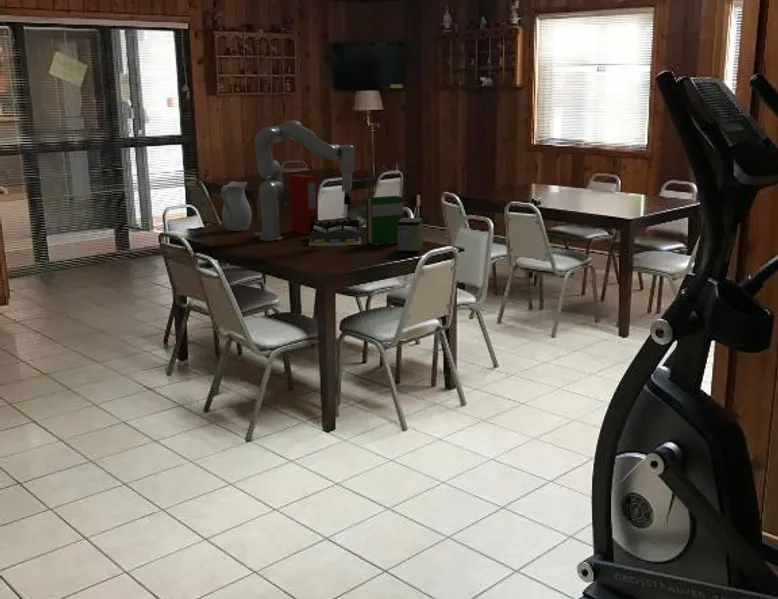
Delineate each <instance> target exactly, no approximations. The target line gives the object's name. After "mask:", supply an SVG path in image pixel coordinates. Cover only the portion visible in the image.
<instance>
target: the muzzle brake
mask: <svg viewBox="0 0 778 599" xmlns="http://www.w3.org/2000/svg"><path fill="white" fill-rule="evenodd" d="M314 225H315V226H318V227H321V228H324V229H326V231H328V229H329V228H333V227H336V226H340V225H341V227H342V229H340V230H337V231H349V230H344V226H349V227H357V231H358V230H359V232H360V231H361V229H362V221H361V219H360V218H359V217H358V216H346V217H341V218H340V217H339V218H338V217H337V218H330V219H322V220H319V219H318V221H312V222H311V223H310V233H311V232H312V231H318V230H315V229H313V227H314Z"/></svg>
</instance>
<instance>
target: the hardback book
mask: <svg viewBox="0 0 778 599" xmlns="http://www.w3.org/2000/svg"><path fill="white" fill-rule="evenodd" d="M403 198H404V197H403V196H400V195H399V196H398V195H391V196H390V195H387V196H375V197H374V196H372V197H365V221H366V222H365V223H366V224H365V226H366V227H365V228H366V230H365V232H366V234H365V235H366V244H367V243H371V244H370V245H371V246H372V245H375V244H382V243H389V242H398V221H400V220H401V219H402V218H404V213H403V212H404V209H403V208H404V203H403V200H404V199H403Z"/></svg>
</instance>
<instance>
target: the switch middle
mask: <svg viewBox="0 0 778 599" xmlns="http://www.w3.org/2000/svg"><path fill="white" fill-rule="evenodd" d="M340 229H342V227H341V225H340V226H336V227H333V228H329V229H328V231H329V232H333V231H336V230H340Z"/></svg>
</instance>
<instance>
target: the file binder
mask: <svg viewBox="0 0 778 599" xmlns="http://www.w3.org/2000/svg"><path fill="white" fill-rule="evenodd" d="M289 189H290V190H289V192H290V193H289V197H290V201H289V202H290V223H291V224H290V226H291V230H292V231H291V230H290V231H291V232H294V231H296V232H295V233H298V232H299V233H298V234H302V233H303V234H302V235H306V234H310V235H311V233H310V223H311V222H312V221H319V204H318V203H319V202H318V200H319V196H318V194H319V193H318V192H319V191H318V176H313V175H306V174H292V175H289Z"/></svg>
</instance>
